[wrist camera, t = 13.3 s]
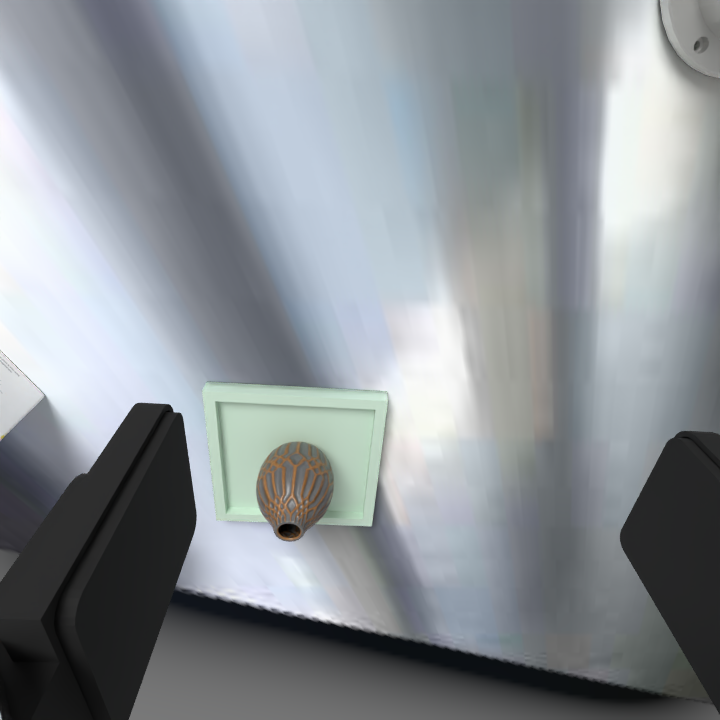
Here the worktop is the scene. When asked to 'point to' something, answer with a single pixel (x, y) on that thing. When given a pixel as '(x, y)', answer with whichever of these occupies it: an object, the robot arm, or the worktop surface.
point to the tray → (294, 424)
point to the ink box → (15, 396)
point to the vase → (294, 488)
